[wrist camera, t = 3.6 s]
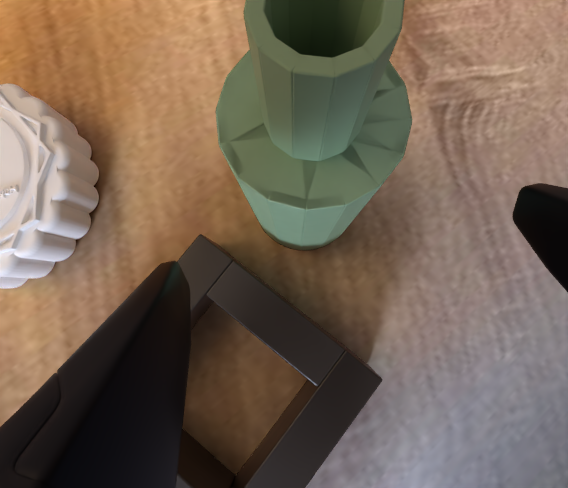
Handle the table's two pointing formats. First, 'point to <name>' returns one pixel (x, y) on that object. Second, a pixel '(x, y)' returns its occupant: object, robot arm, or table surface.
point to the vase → (314, 114)
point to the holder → (293, 349)
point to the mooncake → (40, 187)
